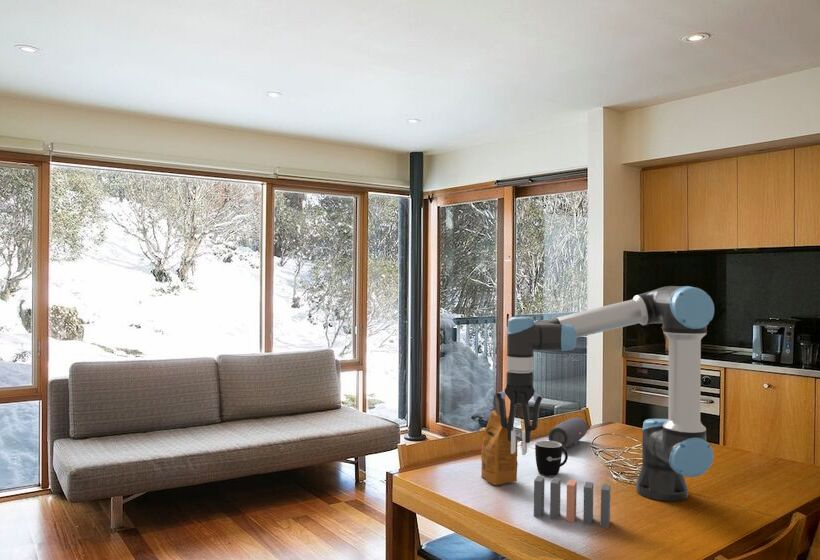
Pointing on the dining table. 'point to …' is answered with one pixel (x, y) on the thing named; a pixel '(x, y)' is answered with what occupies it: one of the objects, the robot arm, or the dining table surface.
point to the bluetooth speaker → (568, 432)
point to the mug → (549, 457)
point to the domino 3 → (571, 500)
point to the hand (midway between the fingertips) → (518, 453)
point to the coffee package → (498, 453)
